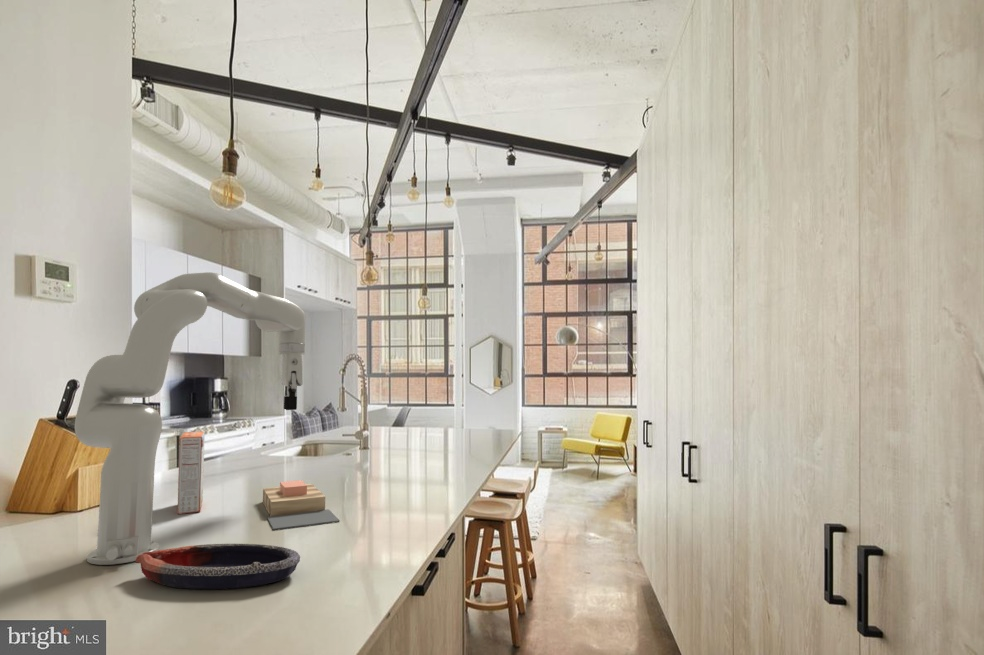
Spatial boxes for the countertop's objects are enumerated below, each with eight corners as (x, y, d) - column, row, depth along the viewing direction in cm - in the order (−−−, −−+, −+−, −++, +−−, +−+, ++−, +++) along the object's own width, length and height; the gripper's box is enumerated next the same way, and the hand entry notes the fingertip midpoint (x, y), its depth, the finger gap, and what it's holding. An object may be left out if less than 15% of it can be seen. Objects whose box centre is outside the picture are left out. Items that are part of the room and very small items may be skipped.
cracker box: (179, 503, 162) (183, 431, 164) (203, 501, 164) (206, 430, 166) (175, 515, 149) (178, 436, 151) (200, 512, 152) (203, 435, 153)
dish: (277, 598, 95) (278, 568, 95) (110, 592, 98) (111, 562, 98) (314, 566, 110) (315, 541, 111) (169, 562, 113) (170, 537, 113)
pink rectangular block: (306, 494, 156) (307, 485, 157) (284, 496, 154) (284, 487, 154) (301, 488, 164) (301, 480, 165) (279, 490, 161) (280, 481, 162)
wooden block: (325, 511, 153) (325, 496, 154) (271, 517, 147) (271, 502, 147) (311, 496, 171) (311, 483, 171) (262, 501, 164) (263, 488, 164)
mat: (339, 521, 142) (339, 520, 142) (273, 530, 135) (273, 528, 135) (328, 510, 154) (328, 509, 154) (267, 517, 146) (267, 516, 146)
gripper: (309, 348, 166) (307, 410, 164) (300, 350, 180) (298, 407, 178) (282, 348, 162) (280, 411, 161) (275, 350, 176) (273, 408, 175)
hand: (290, 408), depth 170 cm, fingers open, 2 cm apart
